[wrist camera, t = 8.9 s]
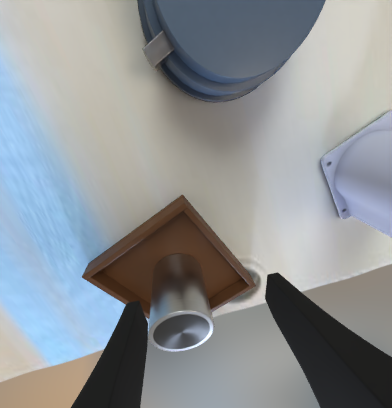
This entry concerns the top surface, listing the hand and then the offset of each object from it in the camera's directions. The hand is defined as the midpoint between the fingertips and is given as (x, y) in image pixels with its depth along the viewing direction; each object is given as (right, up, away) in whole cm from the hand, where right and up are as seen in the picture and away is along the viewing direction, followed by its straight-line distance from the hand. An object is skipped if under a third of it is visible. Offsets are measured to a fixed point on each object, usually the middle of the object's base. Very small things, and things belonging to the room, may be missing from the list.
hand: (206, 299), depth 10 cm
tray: (-3, -3, +12) cm, 13 cm away
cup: (-3, -3, +12) cm, 13 cm away
